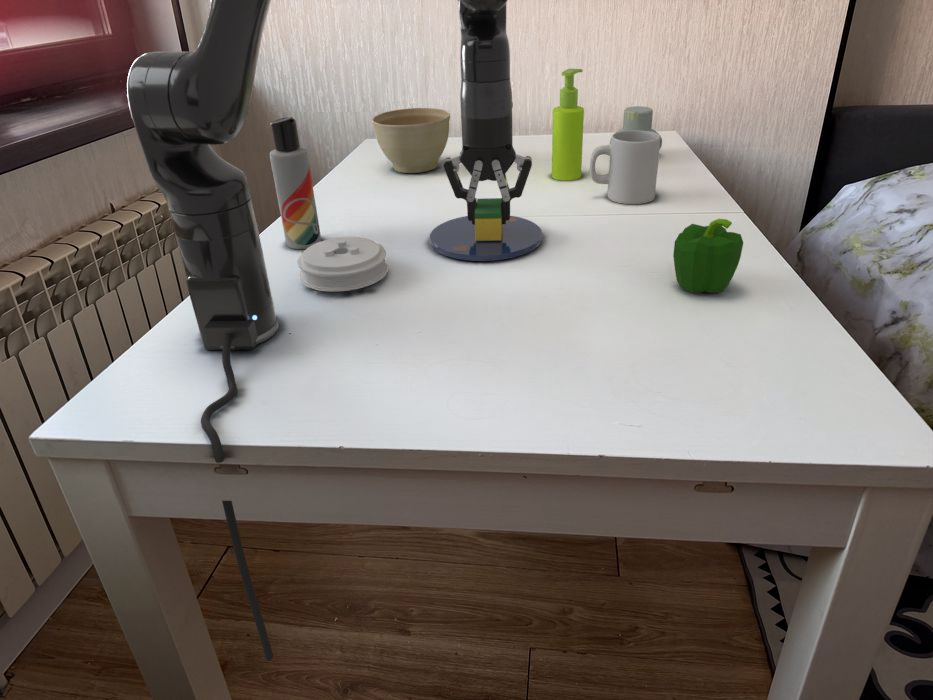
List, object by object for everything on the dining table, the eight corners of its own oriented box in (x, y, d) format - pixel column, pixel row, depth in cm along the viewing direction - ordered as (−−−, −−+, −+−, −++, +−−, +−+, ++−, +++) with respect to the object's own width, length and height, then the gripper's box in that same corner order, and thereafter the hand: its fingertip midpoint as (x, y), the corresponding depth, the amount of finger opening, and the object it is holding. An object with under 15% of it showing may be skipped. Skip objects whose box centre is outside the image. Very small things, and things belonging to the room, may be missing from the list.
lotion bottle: (313, 250, 112) (292, 122, 101) (280, 249, 113) (256, 122, 102) (326, 237, 116) (307, 113, 106) (294, 236, 117) (273, 113, 107)
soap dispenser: (587, 172, 141) (592, 67, 131) (573, 182, 136) (577, 73, 126) (561, 169, 144) (564, 66, 134) (546, 178, 139) (548, 72, 129)
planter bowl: (410, 154, 159) (406, 104, 154) (467, 163, 151) (465, 111, 145) (362, 172, 148) (355, 119, 143) (420, 183, 140) (416, 128, 134)
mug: (650, 188, 131) (655, 129, 125) (659, 204, 123) (665, 141, 118) (586, 190, 131) (588, 131, 126) (590, 205, 124) (593, 143, 118)
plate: (543, 262, 104) (543, 254, 103) (424, 263, 105) (423, 256, 105) (540, 219, 119) (540, 212, 119) (436, 221, 121) (435, 214, 120)
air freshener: (633, 148, 155) (637, 102, 150) (665, 155, 150) (670, 106, 144) (603, 159, 149) (606, 111, 144) (635, 166, 143) (639, 116, 138)
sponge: (501, 240, 108) (500, 212, 106) (475, 241, 108) (474, 213, 106) (502, 224, 114) (502, 198, 112) (478, 225, 114) (477, 198, 112)
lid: (284, 291, 99) (277, 258, 96) (330, 257, 109) (325, 226, 106) (362, 302, 95) (357, 269, 92) (403, 266, 105) (400, 235, 102)
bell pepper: (656, 281, 96) (664, 212, 91) (704, 269, 99) (714, 201, 94) (696, 306, 90) (707, 233, 85) (747, 292, 92) (760, 221, 87)
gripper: (435, 118, 99) (442, 232, 108) (535, 115, 98) (534, 230, 107) (440, 106, 105) (447, 215, 114) (535, 104, 104) (534, 214, 113)
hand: (489, 222), depth 110 cm, fingers closed on sponge, 4 cm apart
